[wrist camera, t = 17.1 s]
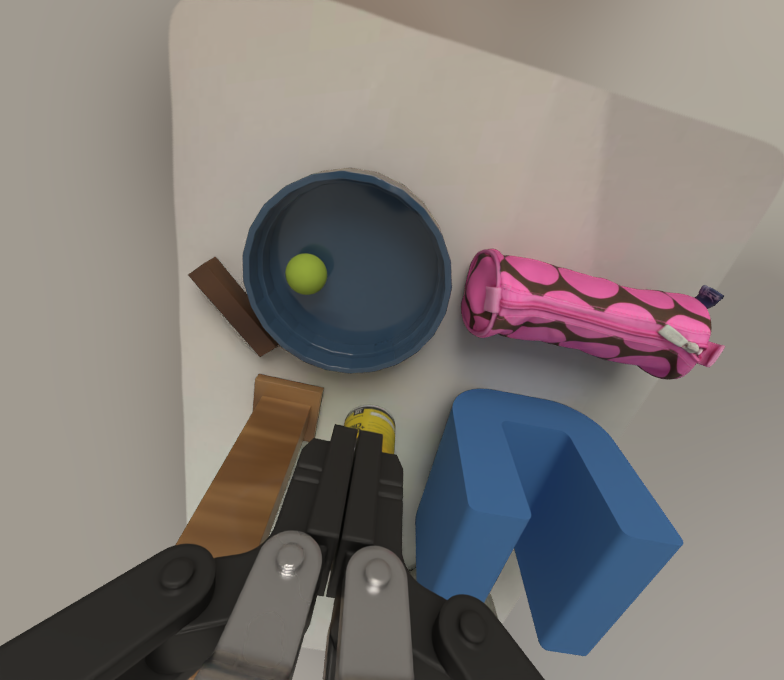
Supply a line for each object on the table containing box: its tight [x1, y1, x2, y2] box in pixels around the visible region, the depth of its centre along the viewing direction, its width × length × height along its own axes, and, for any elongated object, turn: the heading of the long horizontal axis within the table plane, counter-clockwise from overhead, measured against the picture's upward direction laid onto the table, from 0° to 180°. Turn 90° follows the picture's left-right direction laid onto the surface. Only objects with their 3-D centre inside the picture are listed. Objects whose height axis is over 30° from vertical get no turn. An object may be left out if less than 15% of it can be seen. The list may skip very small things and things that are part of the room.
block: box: [415, 389, 683, 656], centre depth 42 cm, size 18×18×18 cm
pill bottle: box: [344, 405, 395, 454], centre depth 44 cm, size 6×6×12 cm
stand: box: [176, 374, 324, 680], centre depth 36 cm, size 8×8×28 cm
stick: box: [188, 257, 278, 357], centre depth 41 cm, size 11×2×2 cm, turn 32°
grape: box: [285, 253, 327, 295], centre depth 37 cm, size 4×4×4 cm
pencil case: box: [461, 249, 725, 379], centre depth 36 cm, size 21×10×10 cm, turn 79°
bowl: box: [243, 168, 452, 374], centre depth 37 cm, size 19×19×5 cm
